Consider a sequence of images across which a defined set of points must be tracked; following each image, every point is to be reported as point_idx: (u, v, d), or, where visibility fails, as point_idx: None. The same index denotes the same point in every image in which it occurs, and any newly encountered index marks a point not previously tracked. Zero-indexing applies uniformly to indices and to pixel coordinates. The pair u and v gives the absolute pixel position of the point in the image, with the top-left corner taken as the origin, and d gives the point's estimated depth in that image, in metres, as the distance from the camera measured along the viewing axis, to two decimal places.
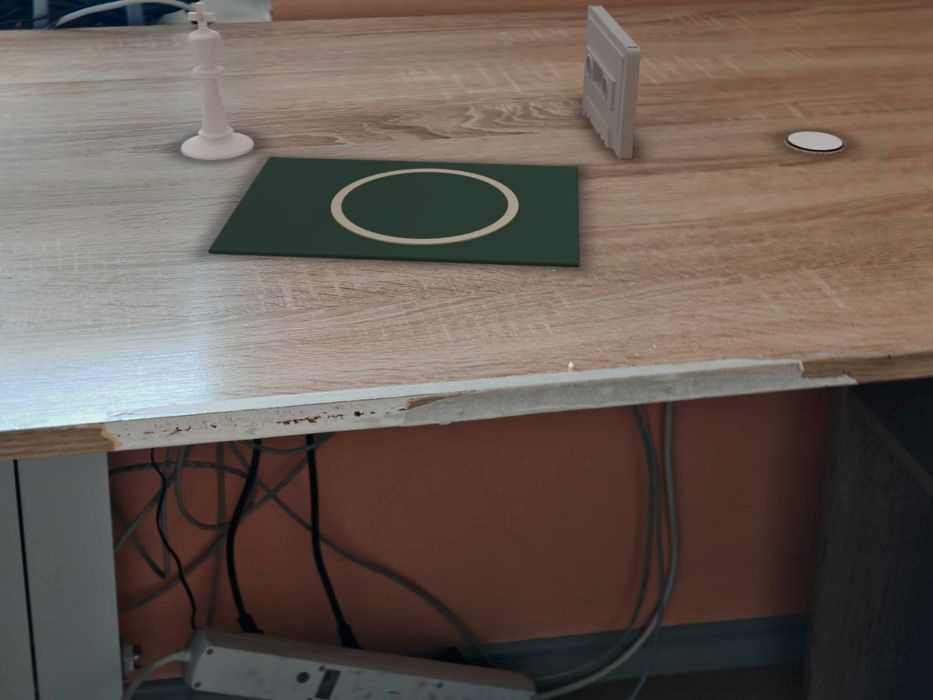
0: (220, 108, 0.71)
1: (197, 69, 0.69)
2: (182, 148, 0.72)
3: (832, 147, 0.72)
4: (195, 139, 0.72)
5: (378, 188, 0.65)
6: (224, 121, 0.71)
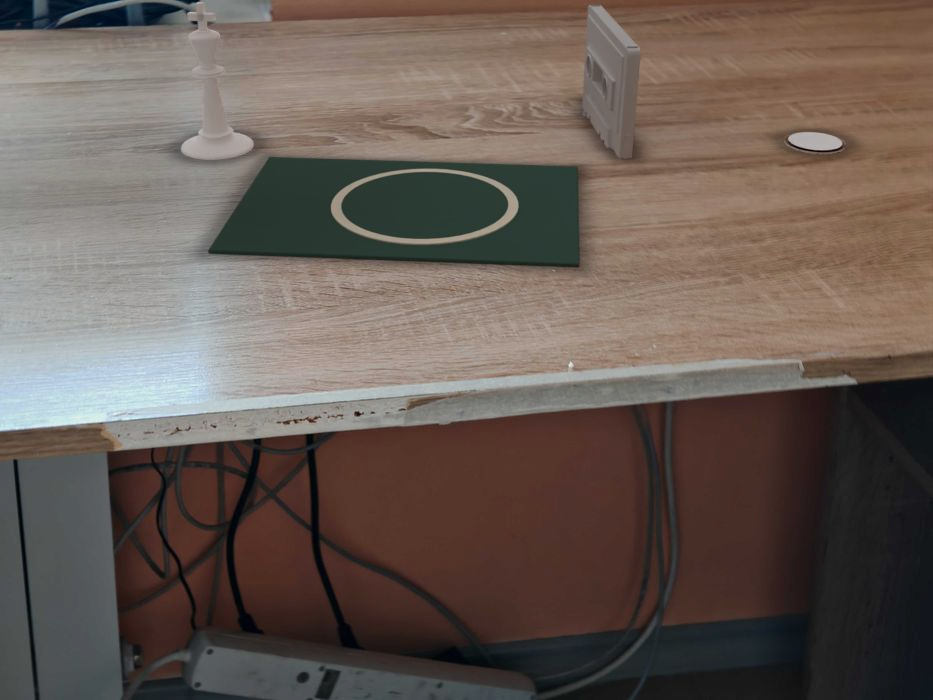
0: (220, 108, 0.71)
1: (197, 69, 0.69)
2: (182, 148, 0.72)
3: (832, 147, 0.72)
4: (195, 139, 0.72)
5: (378, 188, 0.65)
6: (224, 121, 0.71)
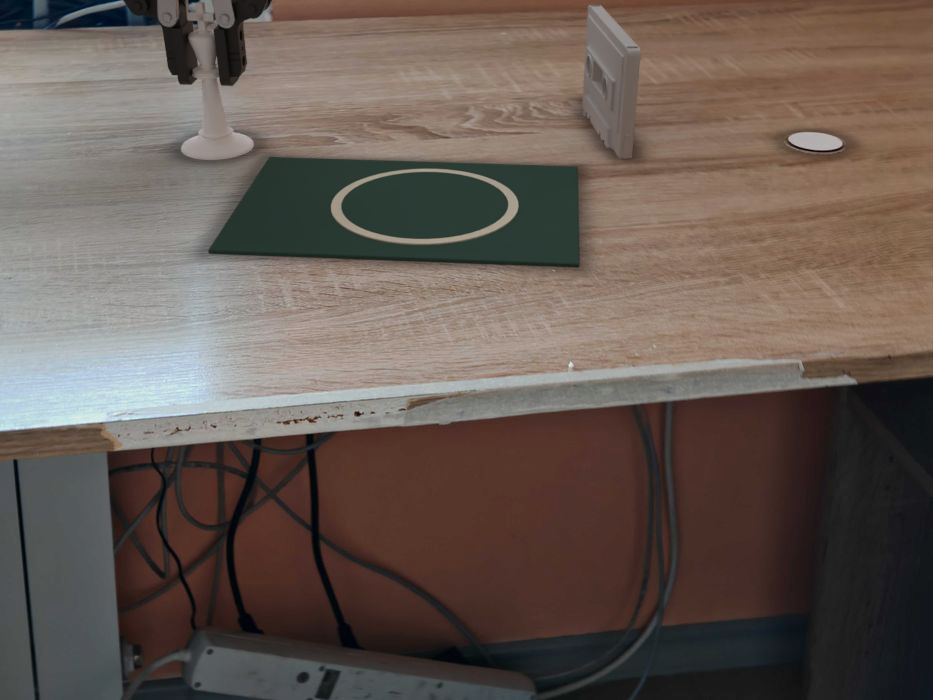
0: (220, 108, 0.71)
1: (197, 69, 0.69)
2: (182, 148, 0.72)
3: (832, 147, 0.72)
4: (195, 139, 0.72)
5: (378, 188, 0.65)
6: (224, 121, 0.71)
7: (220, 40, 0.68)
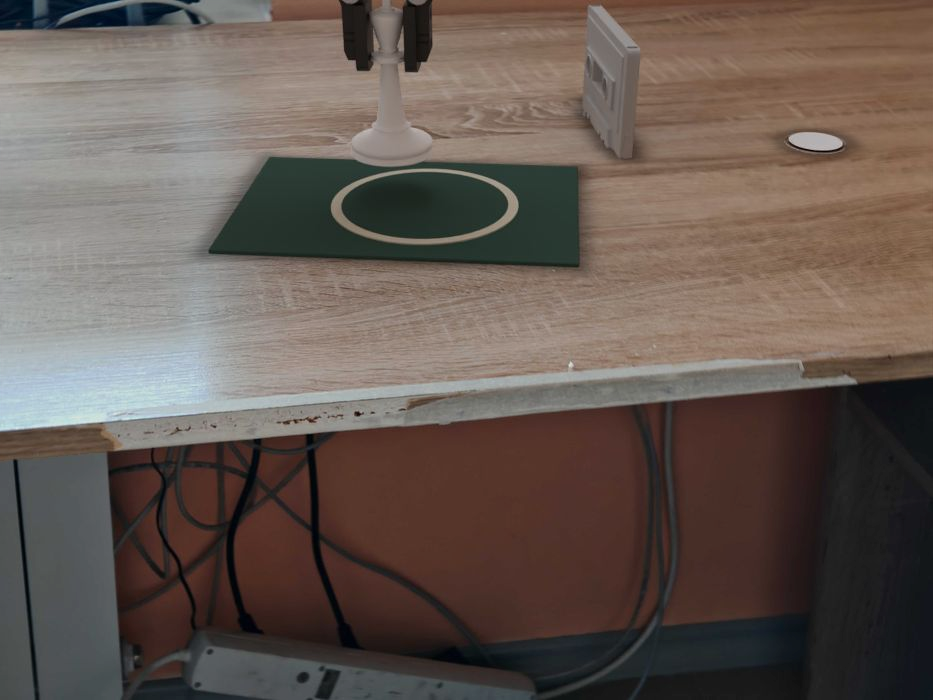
0: (400, 99, 0.62)
1: (376, 53, 0.60)
2: (353, 144, 0.63)
3: (832, 148, 0.72)
4: (367, 134, 0.63)
5: (378, 188, 0.65)
6: (403, 113, 0.62)
7: (409, 19, 0.58)
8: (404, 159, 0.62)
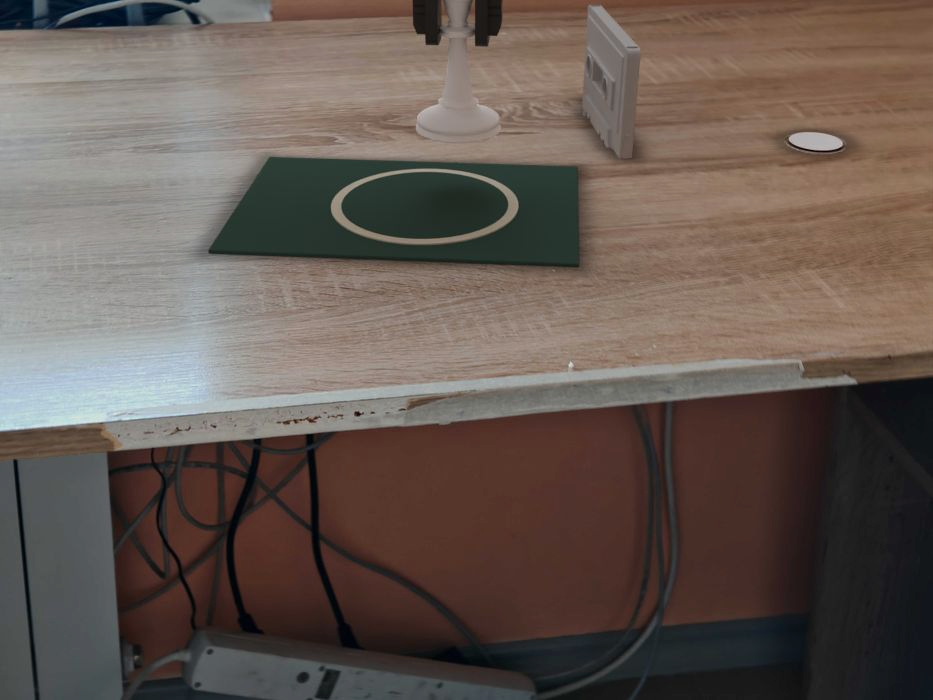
0: (468, 74, 0.61)
1: (446, 27, 0.59)
2: (420, 120, 0.61)
3: (833, 148, 0.72)
4: (433, 110, 0.62)
5: (378, 188, 0.65)
6: (470, 89, 0.61)
7: None
8: (472, 135, 0.61)
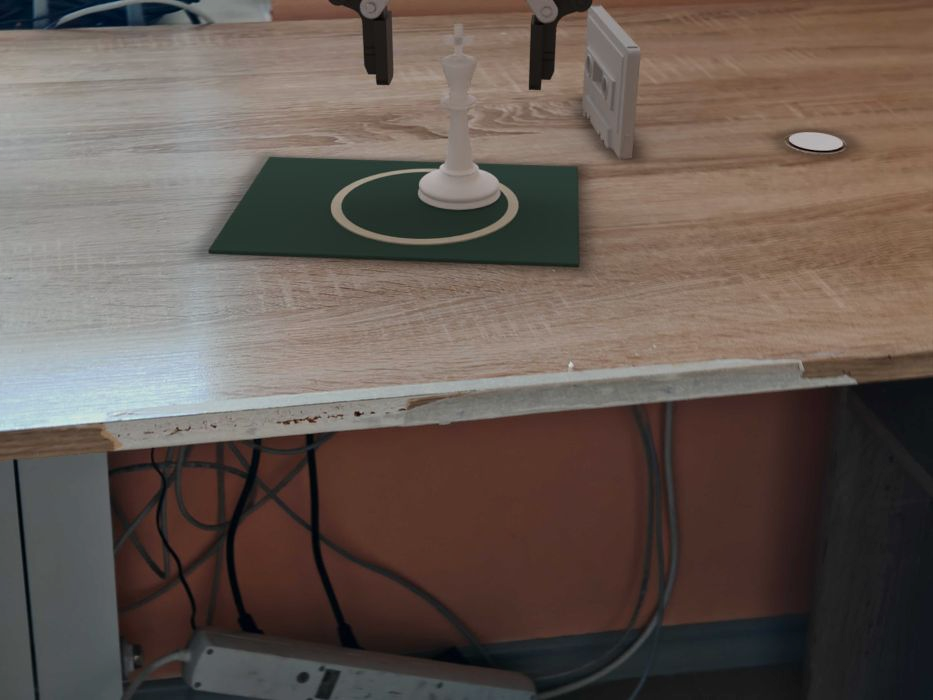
0: (469, 143, 0.63)
1: (447, 99, 0.61)
2: (422, 187, 0.64)
3: (833, 148, 0.72)
4: (435, 176, 0.64)
5: (378, 188, 0.65)
6: (471, 157, 0.63)
7: (536, 37, 0.58)
8: (473, 202, 0.63)
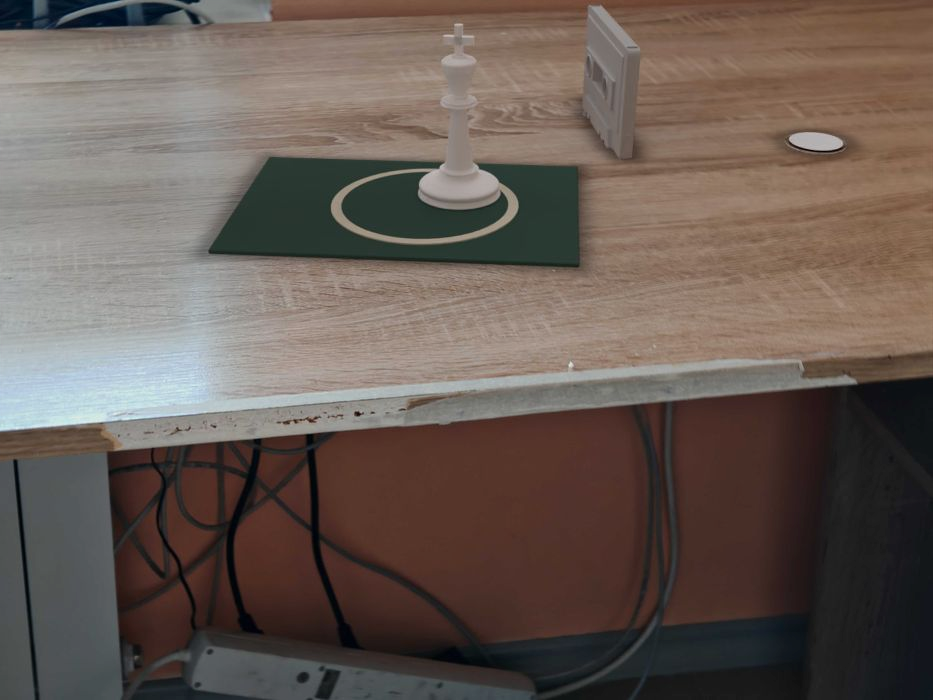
0: (469, 143, 0.63)
1: (447, 99, 0.61)
2: (422, 187, 0.64)
3: (833, 148, 0.72)
4: (435, 176, 0.64)
5: (378, 188, 0.65)
6: (471, 157, 0.63)
7: None
8: (473, 202, 0.63)
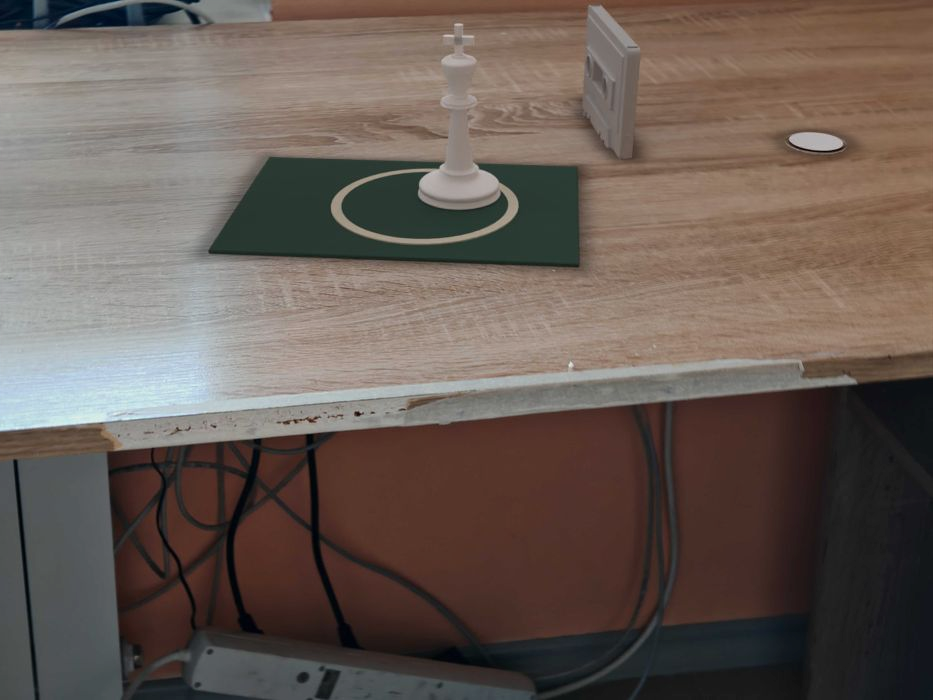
0: (469, 143, 0.63)
1: (447, 99, 0.61)
2: (422, 187, 0.64)
3: (833, 148, 0.72)
4: (435, 176, 0.64)
5: (378, 188, 0.65)
6: (471, 157, 0.63)
7: None
8: (473, 202, 0.63)
